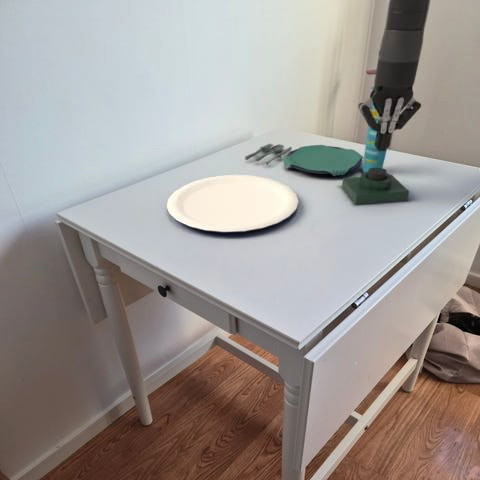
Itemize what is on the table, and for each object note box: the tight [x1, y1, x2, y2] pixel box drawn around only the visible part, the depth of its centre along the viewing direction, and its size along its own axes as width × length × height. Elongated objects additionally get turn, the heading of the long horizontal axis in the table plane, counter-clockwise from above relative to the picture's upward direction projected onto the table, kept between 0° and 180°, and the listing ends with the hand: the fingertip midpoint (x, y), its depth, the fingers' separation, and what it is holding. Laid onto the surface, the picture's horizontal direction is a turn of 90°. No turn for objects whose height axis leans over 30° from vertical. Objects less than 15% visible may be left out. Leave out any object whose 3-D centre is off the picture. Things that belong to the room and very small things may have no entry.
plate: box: [166, 174, 299, 234], centre depth 94 cm, size 29×29×2 cm
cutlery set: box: [244, 143, 364, 177], centre depth 114 cm, size 20×30×2 cm, turn 58°
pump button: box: [367, 167, 388, 181], centre depth 95 cm, size 4×4×2 cm
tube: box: [361, 86, 388, 173], centre depth 102 cm, size 7×5×19 cm, turn 53°
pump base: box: [341, 171, 410, 205], centre depth 97 cm, size 12×10×4 cm
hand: (381, 150), depth 92 cm, fingers closed
